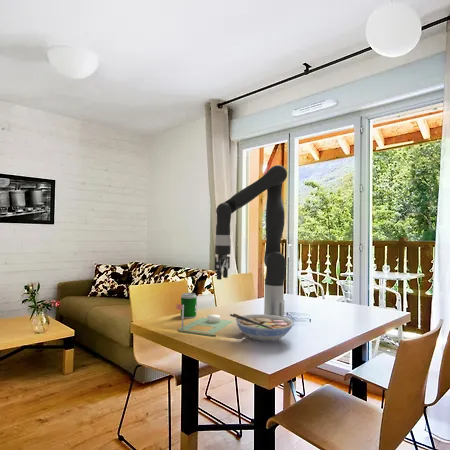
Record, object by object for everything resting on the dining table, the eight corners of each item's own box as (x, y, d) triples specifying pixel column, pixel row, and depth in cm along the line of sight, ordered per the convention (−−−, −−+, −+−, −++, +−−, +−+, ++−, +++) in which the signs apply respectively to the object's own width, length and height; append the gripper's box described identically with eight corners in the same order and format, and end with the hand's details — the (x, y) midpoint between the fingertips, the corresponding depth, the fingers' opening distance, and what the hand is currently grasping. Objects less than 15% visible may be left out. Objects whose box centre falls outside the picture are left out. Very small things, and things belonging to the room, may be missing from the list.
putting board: (233, 323, 161) (234, 299, 162) (213, 337, 139) (214, 308, 139) (199, 319, 168) (200, 296, 168) (174, 331, 145) (175, 304, 146)
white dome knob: (222, 320, 161) (222, 315, 161) (217, 323, 156) (217, 318, 156) (210, 319, 163) (210, 314, 164) (205, 322, 158) (205, 316, 158)
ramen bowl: (308, 343, 133) (308, 322, 134) (261, 353, 121) (261, 329, 121) (266, 328, 154) (266, 309, 155) (222, 335, 142) (222, 315, 142)
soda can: (193, 321, 164) (194, 295, 165) (178, 319, 166) (179, 294, 166) (198, 317, 172) (198, 293, 172) (183, 316, 173) (184, 292, 174)
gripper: (224, 245, 161) (224, 280, 161) (235, 244, 174) (234, 277, 174) (209, 244, 164) (209, 279, 163) (221, 244, 177) (220, 276, 177)
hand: (222, 278), depth 169 cm, fingers open, 7 cm apart
